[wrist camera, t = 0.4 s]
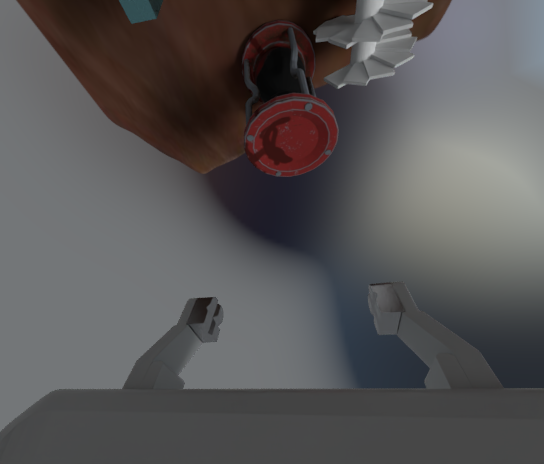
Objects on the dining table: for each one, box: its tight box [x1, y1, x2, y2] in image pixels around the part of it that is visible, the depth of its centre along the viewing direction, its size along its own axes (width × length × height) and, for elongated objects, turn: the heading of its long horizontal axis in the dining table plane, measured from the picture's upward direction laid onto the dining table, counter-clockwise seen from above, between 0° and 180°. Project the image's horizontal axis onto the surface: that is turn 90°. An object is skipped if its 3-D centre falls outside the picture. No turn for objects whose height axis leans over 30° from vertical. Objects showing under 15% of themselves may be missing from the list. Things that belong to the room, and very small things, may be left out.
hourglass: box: [242, 20, 339, 177], centre depth 44 cm, size 16×16×25 cm
